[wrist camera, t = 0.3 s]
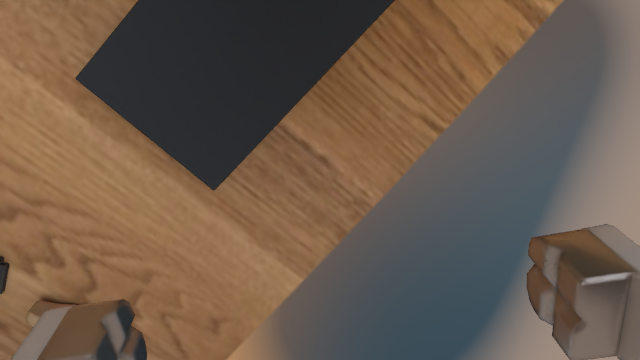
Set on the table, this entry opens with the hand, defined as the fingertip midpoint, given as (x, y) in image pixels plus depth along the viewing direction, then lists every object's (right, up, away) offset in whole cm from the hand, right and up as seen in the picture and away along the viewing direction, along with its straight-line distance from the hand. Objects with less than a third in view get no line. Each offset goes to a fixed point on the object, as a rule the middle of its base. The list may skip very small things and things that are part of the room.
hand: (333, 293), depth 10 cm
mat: (-3, +15, +22) cm, 27 cm away
